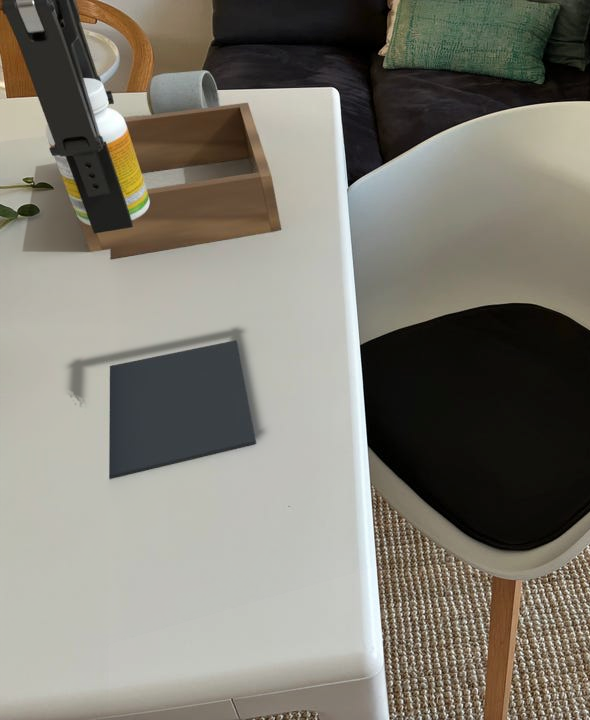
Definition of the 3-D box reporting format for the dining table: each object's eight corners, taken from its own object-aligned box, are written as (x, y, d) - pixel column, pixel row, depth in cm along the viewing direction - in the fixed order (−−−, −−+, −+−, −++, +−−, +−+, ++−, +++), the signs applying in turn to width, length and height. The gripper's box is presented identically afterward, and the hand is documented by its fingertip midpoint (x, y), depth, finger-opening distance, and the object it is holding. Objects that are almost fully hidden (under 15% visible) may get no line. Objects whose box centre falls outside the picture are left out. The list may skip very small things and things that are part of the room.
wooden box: (97, 175, 100) (79, 123, 96) (257, 152, 106) (247, 102, 101) (94, 262, 85) (72, 205, 81) (281, 230, 91) (271, 175, 86)
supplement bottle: (154, 190, 63) (118, 70, 57) (148, 224, 59) (108, 99, 53) (83, 198, 62) (38, 76, 56) (72, 232, 58) (23, 106, 52)
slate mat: (81, 375, 71) (79, 371, 71) (237, 343, 75) (236, 339, 75) (76, 486, 61) (74, 483, 61) (256, 443, 65) (255, 440, 65)
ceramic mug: (168, 114, 115) (154, 62, 110) (224, 114, 115) (212, 62, 110) (147, 147, 107) (130, 93, 102) (206, 147, 107) (193, 93, 102)
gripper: (54, -122, 40) (170, 261, 55) (67, -168, 53) (158, 151, 68) (-114, -113, 38) (55, 282, 53) (-57, -163, 51) (65, 164, 66)
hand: (113, 207), depth 60 cm, fingers closed on supplement bottle, 5 cm apart
